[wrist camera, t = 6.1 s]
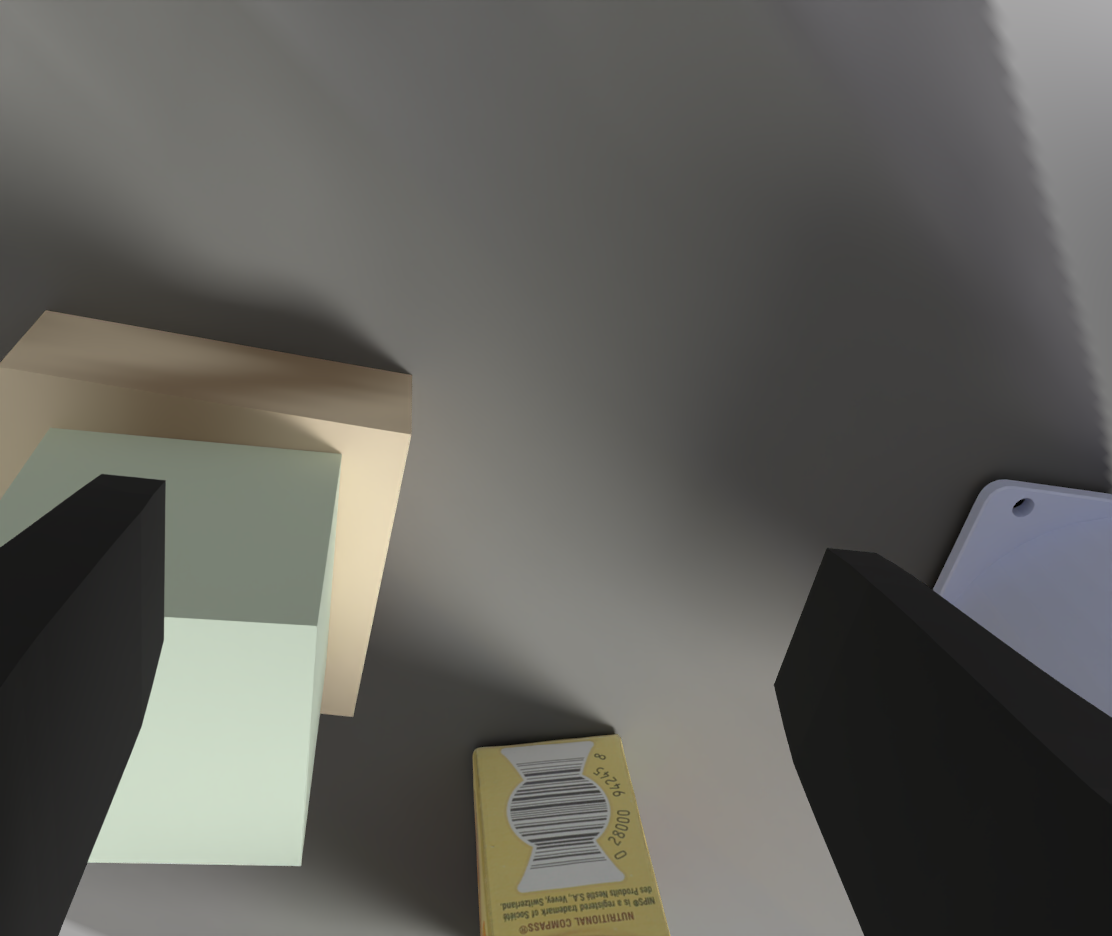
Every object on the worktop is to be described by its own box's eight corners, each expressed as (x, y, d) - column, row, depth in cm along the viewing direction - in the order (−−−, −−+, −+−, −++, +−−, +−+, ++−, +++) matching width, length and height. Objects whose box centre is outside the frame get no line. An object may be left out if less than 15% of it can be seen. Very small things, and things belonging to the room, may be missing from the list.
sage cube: (341, 453, 18) (317, 625, 14) (326, 664, 21) (301, 865, 17) (50, 427, 18) (-72, 603, 13) (68, 650, 20) (-29, 859, 16)
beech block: (411, 366, 21) (411, 434, 18) (360, 628, 24) (353, 716, 22) (52, 302, 20) (-4, 366, 17) (47, 590, 23) (0, 681, 20)
